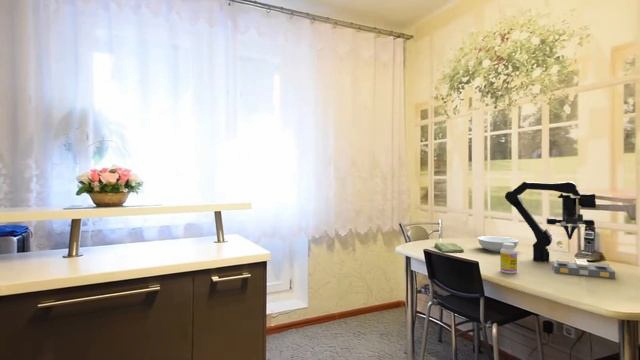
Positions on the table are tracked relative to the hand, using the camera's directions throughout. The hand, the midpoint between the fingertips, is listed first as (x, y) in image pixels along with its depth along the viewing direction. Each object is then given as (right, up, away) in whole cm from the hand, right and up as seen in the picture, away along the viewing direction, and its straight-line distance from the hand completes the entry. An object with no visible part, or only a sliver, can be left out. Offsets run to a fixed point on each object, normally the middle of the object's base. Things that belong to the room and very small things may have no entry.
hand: (569, 239), depth 170 cm
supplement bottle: (-36, -13, -12) cm, 40 cm away
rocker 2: (-5, -8, -15) cm, 18 cm away
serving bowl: (-19, -12, +32) cm, 39 cm away
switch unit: (-5, -12, -15) cm, 20 cm away
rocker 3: (+1, -8, -18) cm, 20 cm away
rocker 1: (-12, -8, -12) cm, 18 cm away
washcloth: (-45, -13, +37) cm, 60 cm away
